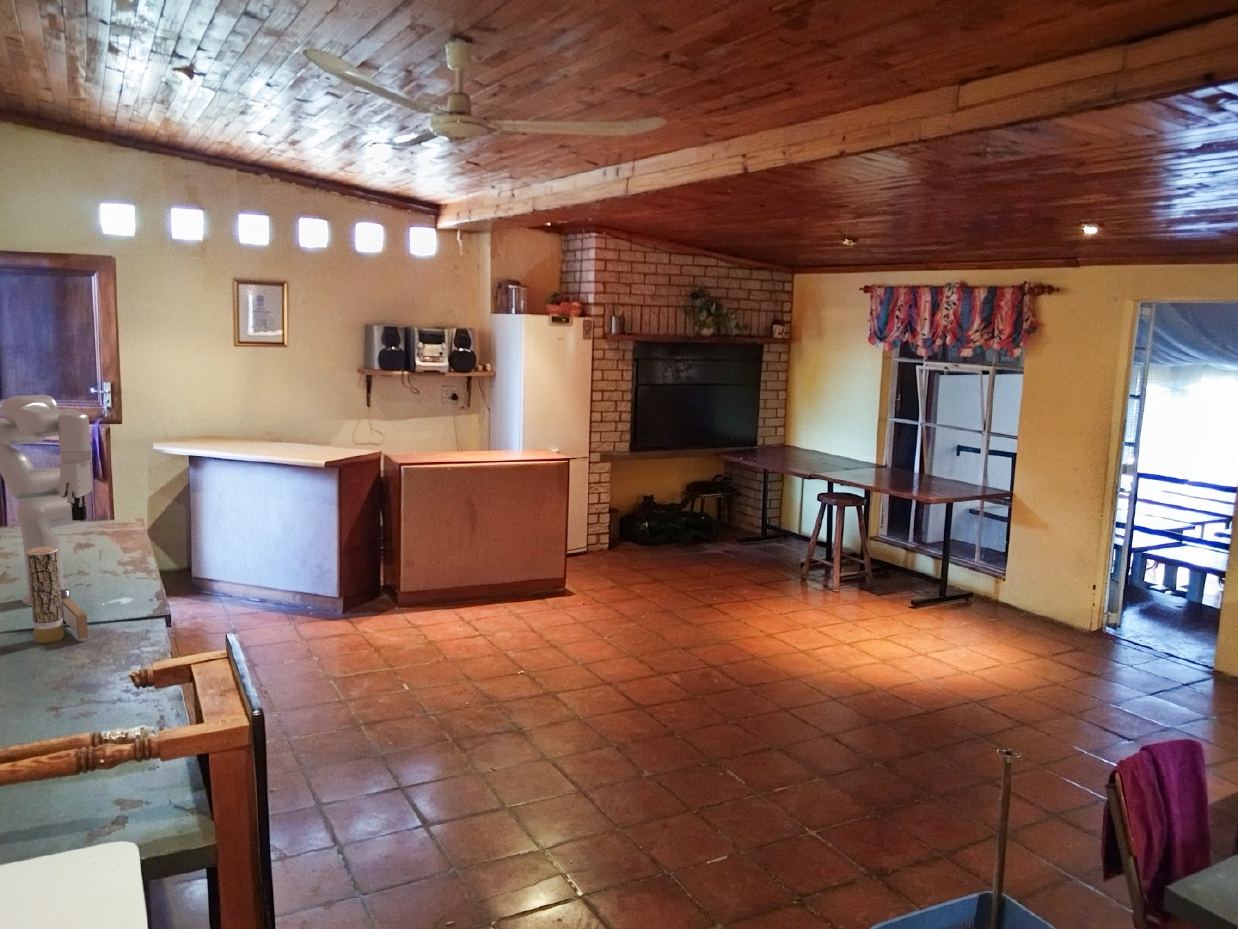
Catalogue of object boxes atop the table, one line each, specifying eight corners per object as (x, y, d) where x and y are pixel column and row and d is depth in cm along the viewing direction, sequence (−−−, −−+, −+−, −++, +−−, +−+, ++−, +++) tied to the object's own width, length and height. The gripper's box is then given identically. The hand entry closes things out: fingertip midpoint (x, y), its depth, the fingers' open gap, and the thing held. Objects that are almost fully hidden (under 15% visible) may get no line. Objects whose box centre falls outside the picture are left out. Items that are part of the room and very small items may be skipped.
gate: (71, 620, 262) (69, 598, 261) (88, 637, 249) (86, 614, 248) (63, 622, 261) (61, 599, 260) (79, 639, 248) (77, 616, 247)
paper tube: (54, 644, 246) (47, 553, 242) (29, 644, 246) (21, 552, 242) (69, 636, 253) (63, 546, 249) (45, 635, 253) (37, 546, 249)
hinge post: (62, 621, 264) (60, 589, 262) (73, 621, 264) (71, 589, 263) (57, 624, 261) (55, 592, 260) (69, 624, 261) (66, 592, 260)
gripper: (73, 451, 268) (77, 513, 271) (48, 460, 253) (52, 526, 256) (101, 452, 269) (104, 514, 272) (77, 461, 254) (81, 526, 257)
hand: (79, 519), depth 264 cm, fingers closed
